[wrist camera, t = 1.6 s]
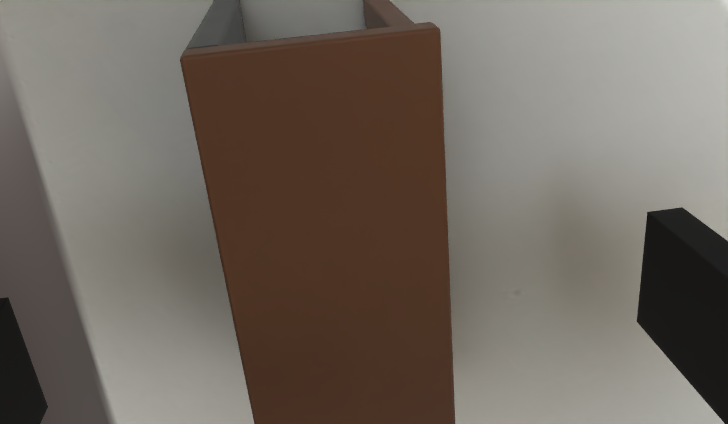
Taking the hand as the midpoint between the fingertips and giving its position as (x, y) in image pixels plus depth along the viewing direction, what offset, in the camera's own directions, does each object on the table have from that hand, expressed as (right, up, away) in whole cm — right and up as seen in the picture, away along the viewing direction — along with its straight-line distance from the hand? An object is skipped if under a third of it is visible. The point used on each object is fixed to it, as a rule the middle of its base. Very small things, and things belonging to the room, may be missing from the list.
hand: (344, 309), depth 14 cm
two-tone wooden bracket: (-1, +2, +5) cm, 5 cm away
